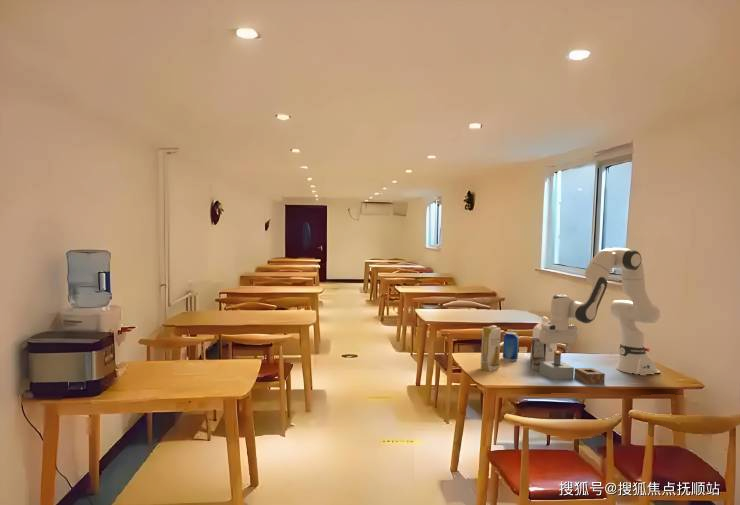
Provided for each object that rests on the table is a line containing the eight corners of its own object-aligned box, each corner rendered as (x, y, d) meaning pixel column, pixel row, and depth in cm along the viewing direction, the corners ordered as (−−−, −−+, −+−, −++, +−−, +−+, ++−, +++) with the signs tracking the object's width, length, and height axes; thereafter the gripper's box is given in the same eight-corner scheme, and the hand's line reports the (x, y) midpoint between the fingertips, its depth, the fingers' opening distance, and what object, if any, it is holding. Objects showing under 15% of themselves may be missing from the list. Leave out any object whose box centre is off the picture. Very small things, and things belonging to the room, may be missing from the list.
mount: (591, 377, 247) (591, 367, 247) (604, 383, 237) (604, 373, 237) (574, 377, 245) (574, 368, 245) (586, 384, 235) (587, 374, 235)
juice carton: (490, 372, 249) (492, 327, 248) (478, 368, 255) (480, 324, 254) (500, 369, 255) (503, 325, 254) (488, 365, 261) (491, 323, 260)
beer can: (519, 359, 277) (520, 332, 276) (515, 362, 270) (516, 335, 269) (504, 357, 281) (506, 330, 281) (500, 359, 274) (502, 332, 274)
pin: (557, 374, 249) (558, 350, 249) (561, 376, 246) (563, 352, 245) (551, 374, 249) (552, 350, 248) (555, 376, 245) (556, 352, 244)
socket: (559, 372, 254) (560, 361, 254) (573, 379, 243) (573, 367, 242) (539, 372, 252) (540, 361, 252) (552, 379, 240) (552, 368, 240)
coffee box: (544, 371, 254) (546, 342, 254) (532, 370, 256) (534, 341, 255) (542, 366, 263) (543, 338, 263) (530, 365, 265) (531, 337, 264)
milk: (530, 358, 282) (532, 315, 281) (549, 358, 281) (552, 316, 280) (536, 363, 270) (539, 318, 269) (556, 364, 269) (559, 319, 268)
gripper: (573, 323, 251) (572, 349, 252) (538, 324, 247) (537, 350, 248) (580, 326, 245) (579, 352, 246) (544, 326, 241) (543, 353, 242)
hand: (557, 351), depth 247 cm, fingers open, 8 cm apart
